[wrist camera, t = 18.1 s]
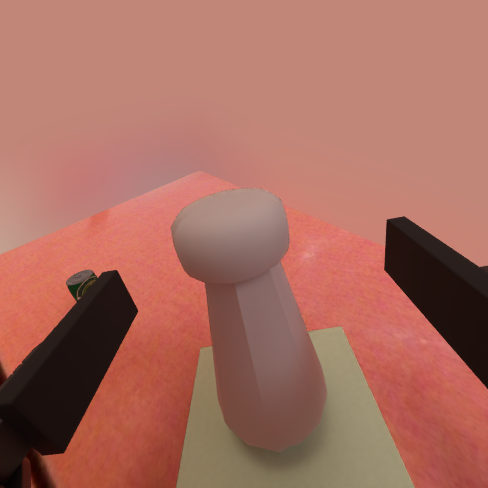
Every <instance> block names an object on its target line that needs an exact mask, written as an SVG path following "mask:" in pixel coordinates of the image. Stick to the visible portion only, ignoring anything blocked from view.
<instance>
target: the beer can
mask: <svg viewBox="0 0 488 488" xmlns="http://www.w3.org/2000/svg"><path fill="white" fill-rule="evenodd" d="M96 280H97V276H96V275H95V274H94V273H93V271H92V270H84V271H81V272H78V273H76V274H74V275H73V276H71V277H70V278H69V279H68V280H67V281H66V285H67V286H68V289H69V291H70V293H71V294H72V296H73V297H74V299H75V300H76V302H78V300H79V299H80V298H81V297H82V296H83V295H84V294H85V292H86V291H87V290H88V289H89V288H90V287H91V285H92V284H93V283H94V282H95V281H96Z"/></svg>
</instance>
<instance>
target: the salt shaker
mask: <svg viewBox="0 0 488 488" xmlns="http://www.w3.org/2000/svg"><path fill="white" fill-rule="evenodd" d="M171 232H172V238H173V243H174V247H175V250H176V253H177V255H178V258H179V260H180V262H181V264H182V266H183V269H184V270H185V272H186V273H187V274H188V275H189V276H190V277H192V278H195V279H197V280H199V281H202V282H204V283H205V288H206V295H207V304H208V314H209V323H210V332H211V341H212V350H213V360H214V369H215V378H216V387H217V397H218V402H219V405H220V408H221V411H222V414H223V418H224V421H225V423H226V424H227V426H228V427H229V428H230V429H231V430H232V431H233V432H234V433H235V434H236V435H238V436H239V437H240V438H241V439H242V440H243V441H244V442H245V443H246V444H247V445H250V446H254V447H258V448H262V449H267V450H271V451H275V452H277V453H281V452H282V451H284V450H285V449H287V448H289V447H290V446H293V445H296V444H300V443H301V442H302V441H303V440H304V439H305V438H306V437H307V436H308V435H310V433H311V432H312V431H313V430H314V429H315V428H316V427H317V426H318V425H319V424H320V421H321V417H322V414H323V410H324V406H325V402H326V398H327V388H326V383H325V379H324V374H323V369H322V366H321V364H320V361H319V359H318V356H317V354H316V351H315V348H314V346H313V343H312V341H311V338H310V336H309V333H308V331H307V328H306V325H305V323H304V320H303V318H302V315H301V313H300V310H299V308H298V305H297V302H296V300H295V297H294V295H293V292H292V290H291V287H290V285H289V282H288V279H287V277H286V274H285V272H284V269H283V267H282V264H281V262H280V261H281V259H282V258H283V256H284V255H285V253H286V252H287V250H288V247H289V242H290V241H289V228H288V221H287V216H286V213H285V210H284V207H283V204H282V201H281V199H280V198H278V197H277V196H275V195H273V194H272V193H270V192H268V191H265V190H263V189H255V188H241V189H232V190H225V191H222V192H218V193H214V194H211V195H209V196H206V197H203V198H201V199H199V200H197V201H195V202H193V203H191V204H190V205H188V206H186V207H185V208H183V209H182V210H181V211H180V213H179V214H178V215H177V217H176V219H175V221H174V223H173V224H172V226H171Z"/></svg>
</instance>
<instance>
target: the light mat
mask: <svg viewBox="0 0 488 488" xmlns="http://www.w3.org/2000/svg"><path fill="white" fill-rule="evenodd" d="M308 333H309V336H310V338H311V341H312V343H313V346H314V348H315V351H316V354H317V356H318V359H319V361H320V364H321V366H322V369H323V374H324V379H325V383H326V388H327V398H326V402H325V406H324V410H323V414H322V417H321V421H320V424H319V425H318V426H317V427H316V428H315V429H314V430H313V431H312V432H311V433H310V435H308V436H307V437H306V438H305V439H304V440H303V441H302V442H301V443H300V444H296V445H293V446H290V447H289V448H287V449H285V450H284V451H282V452H281V453H277V452H275V451H271V450H267V449H262V448H258V447H254V446H250V445H247V444H246V443H245V442H244V441H243V440H242V439H241V438H240V437H239V436H238V435H236V434H235V433H234V432H233V431H232V430H231V429H230V428H229V427H228V426H227V424H226V423H225V421H224V418H223V414H222V411H221V408H220V405H219V402H218V397H217V387H216V378H215V369H214V360H213V350H212V346H210V347H203V348H201V349H200V354H199V360H198V365H197V371H196V377H195V382H194V388H193V394H192V399H191V405H190V411H189V416H188V422H187V428H186V433H185V439H184V445H183V450H182V456H181V461H180V467H179V473H178V478H177V484H176V488H415V487H414V485H413V483H412V480H411V478H410V476H409V474H408V472H407V469H406V467H405V465H404V463H403V461H402V458H401V456H400V454H399V452H398V449H397V447H396V445H395V443H394V441H393V438H392V436H391V434H390V432H389V430H388V427H387V425H386V423H385V421H384V419H383V416H382V414H381V412H380V410H379V408H378V405H377V403H376V401H375V399H374V397H373V394H372V392H371V390H370V388H369V386H368V383H367V381H366V379H365V377H364V375H363V372H362V370H361V368H360V366H359V363H358V361H357V359H356V357H355V355H354V352H353V350H352V348H351V346H350V344H349V341H348V339H347V337H346V335H345V333H344V330H343V328H342V327H341V326H340V327H334V328H327V329H321V330H314V331H308Z"/></svg>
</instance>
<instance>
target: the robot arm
mask: <svg viewBox="0 0 488 488" xmlns="http://www.w3.org/2000/svg"><path fill="white" fill-rule="evenodd" d="M384 270H385V271H386V272H387V273H388V274H389V276H390V277H391V278H392V279H393V280H394V281H395V283H396V284H397V285H398V286H399V287H400V288H401V289H402V291H403V292H404V293H405V294H406V295H407V296H408V298H409V299H410V300H411V301H412V302H413V303H414V304H415V306H416V307H417V308H418V309H419V310H420V311H421V313H422V314H423V315H424V316H425V317H426V318H427V319H428V321H429V322H430V323H431V324H432V325H433V326H434V328H435V329H436V330H437V331H438V332H439V333H440V334H441V336H442V337H443V338H444V339H445V340H446V341H447V343H448V344H449V345H450V346H451V347H452V348H453V349H454V351H455V352H456V353H457V354H458V355H459V356H460V358H461V359H462V360H463V361H464V362H465V363H466V364H467V366H468V367H469V368H470V369H471V370H472V371H473V373H474V374H475V375H476V376H477V377H478V378H479V379H480V381H481V382H482V383H483V384H484V385H485V386H486V388H487V389H488V266H483V267H478V266H477V265H475V264H474V263H472V262H471V261H470V260H468V259H467V258H465V257H464V256H462V255H461V254H459V253H458V252H456V251H455V250H453V249H452V248H450V247H449V246H447V245H446V244H444V243H443V242H441V241H440V240H439V239H437V238H435V237H434V236H433V235H431V234H430V233H428V232H427V231H425V230H424V229H422V228H421V227H419V226H418V225H416V224H415V223H413V222H412V221H410V220H409V219H407V218H406V217H399V218H393V219H388V220H387V226H386V246H385V267H384ZM137 313H138V309H137V307H136V305H135V303H134V302H133V300H132V298H131V296H130V294H129V292H128V290H127V288H126V286H125V284H124V282H123V281H122V279H121V277H120V275H119V273H118V271H117V270H113V271H108V272H103V273H102V274H101V275H100V276H99V277H98V278H97V280H96V281H95V282H94V283H93V284H92V285H91V287H90V288H89V289H88V290H87V291H86V292H85V294H84V295H83V296H82V297H81V298H80V299H79V300H78V302H77V303H76V304H75V305H74V306H73V307H72V309H71V310H70V311H69V312H68V313H67V314H66V316H65V317H64V318H63V319H62V320H61V321H60V322H59V324H58V325H57V326H56V327H55V328H54V329H53V331H52V332H51V333H50V334H49V335H48V336H47V338H46V339H45V340H44V341H43V342H42V343H40V344H39V345H38V346H37V347H35V348H34V349H33V350H32V351H31V352H30V353H29V355H28V356H27V357H26V358H25V359H24V360H23V361H22V364H20V365H19V366H18V367H17V368H16V369H15V371H14V372H13V374H12V375H10V376H9V377H8V379H7V380H6V381H5V382H4V383H3V384H2V385H1V386H0V488H31V465H30V462H29V460H28V459H27V458H26V457H25V456H26V455H27V453H28V451H29V450H30V448H31V447H33V448H34V449H36V450H37V451H38V452H39V453H40V454H41V455H42V456H44V455H53V454H62V453H64V452H65V450H66V448H67V446H68V444H69V443H70V441H71V439H72V437H73V435H74V433H75V431H76V429H77V427H78V425H79V423H80V422H81V420H82V418H83V416H84V414H85V412H86V410H87V408H88V406H89V404H90V402H91V401H92V399H93V397H94V395H95V393H96V391H97V389H98V387H99V385H100V383H101V381H102V380H103V378H104V376H105V374H106V372H107V370H108V368H109V366H110V364H111V362H112V360H113V359H114V357H115V355H116V353H117V351H118V349H119V347H120V345H121V343H122V341H123V339H124V338H125V336H126V334H127V332H128V330H129V328H130V326H131V324H132V322H133V320H134V318H135V317H136V315H137Z"/></svg>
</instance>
